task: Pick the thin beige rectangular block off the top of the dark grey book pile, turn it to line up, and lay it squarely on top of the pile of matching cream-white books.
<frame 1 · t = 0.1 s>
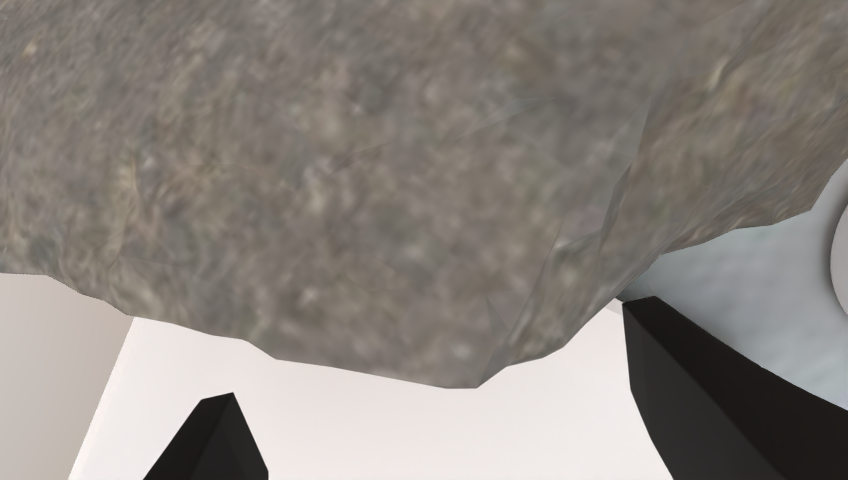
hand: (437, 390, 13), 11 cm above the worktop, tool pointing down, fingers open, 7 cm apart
plate: (381, 456, 26), on the worktop
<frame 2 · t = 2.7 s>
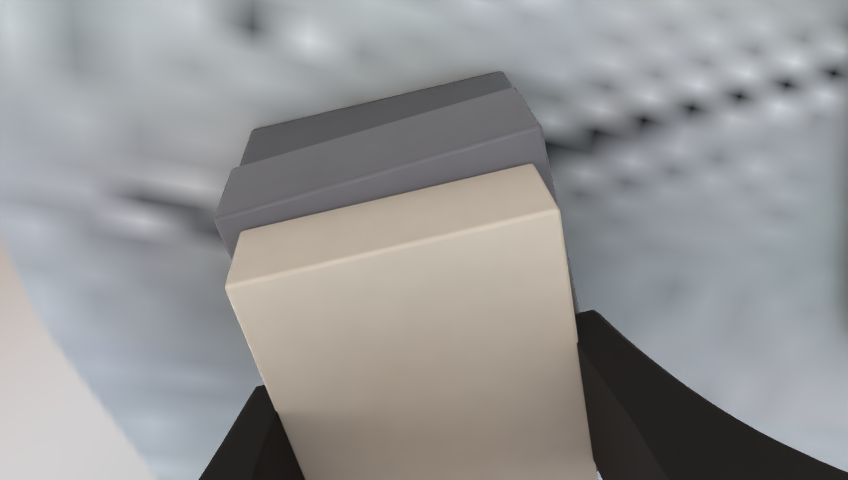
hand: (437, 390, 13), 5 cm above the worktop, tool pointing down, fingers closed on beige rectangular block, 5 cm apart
beige rectangular block: (432, 369, 14), point 4 cm above the worktop, touching grey books, gripper
grey books: (416, 255, 18), on the worktop
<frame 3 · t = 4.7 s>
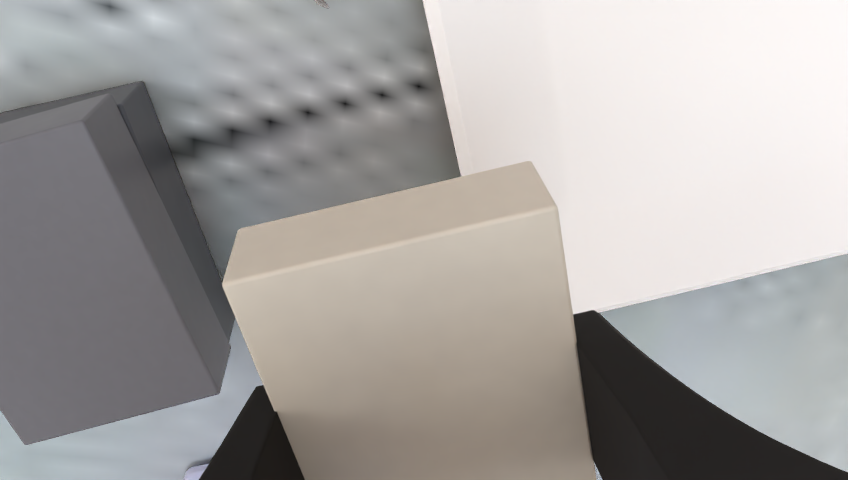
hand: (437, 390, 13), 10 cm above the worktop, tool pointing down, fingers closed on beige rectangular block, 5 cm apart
beige rectangular block: (430, 368, 14), point 9 cm above the worktop, touching gripper
grey books: (102, 229, 22), on the worktop
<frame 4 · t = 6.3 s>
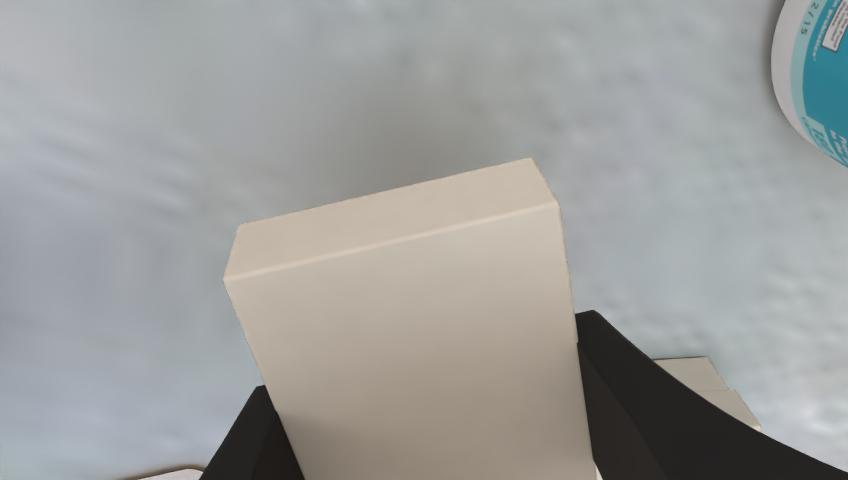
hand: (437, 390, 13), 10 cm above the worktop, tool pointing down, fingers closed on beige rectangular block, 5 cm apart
beige rectangular block: (430, 365, 14), point 9 cm above the worktop, touching gripper
white books: (597, 416, 27), on the worktop
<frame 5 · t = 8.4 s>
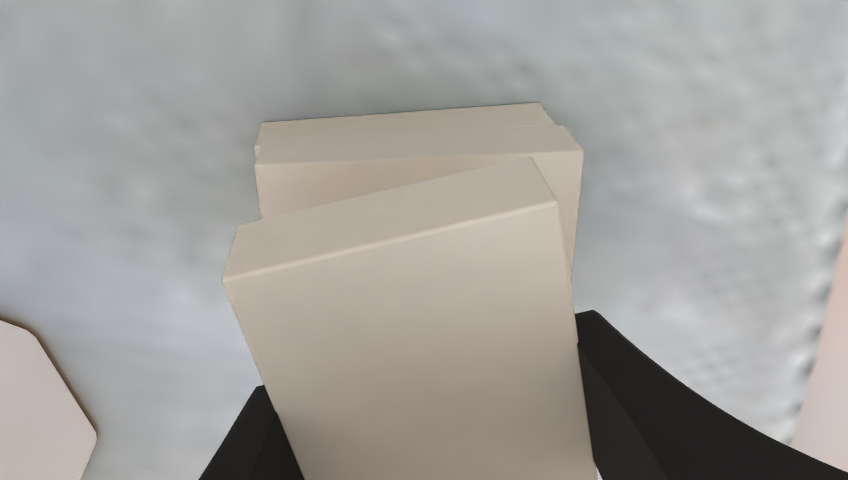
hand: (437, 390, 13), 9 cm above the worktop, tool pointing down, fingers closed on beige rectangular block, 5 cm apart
beige rectangular block: (430, 365, 14), point 8 cm above the worktop, touching gripper
white books: (407, 196, 21), on the worktop
when the fingers open (4 cm above the worktop, at t = 10.1 s): beige rectangular block stays where it is, resting on white books.
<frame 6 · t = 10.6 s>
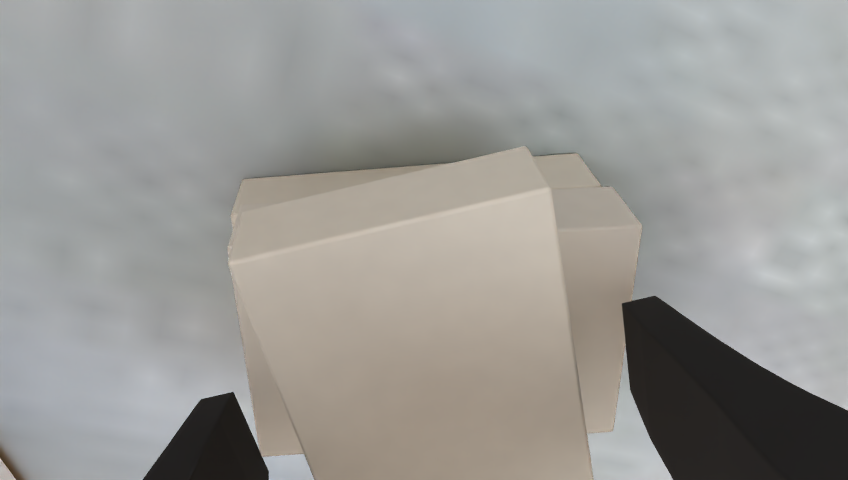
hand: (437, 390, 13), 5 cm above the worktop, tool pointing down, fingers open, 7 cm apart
beige rectangular block: (428, 349, 14), point 4 cm above the worktop, touching white books
white books: (417, 262, 18), on the worktop
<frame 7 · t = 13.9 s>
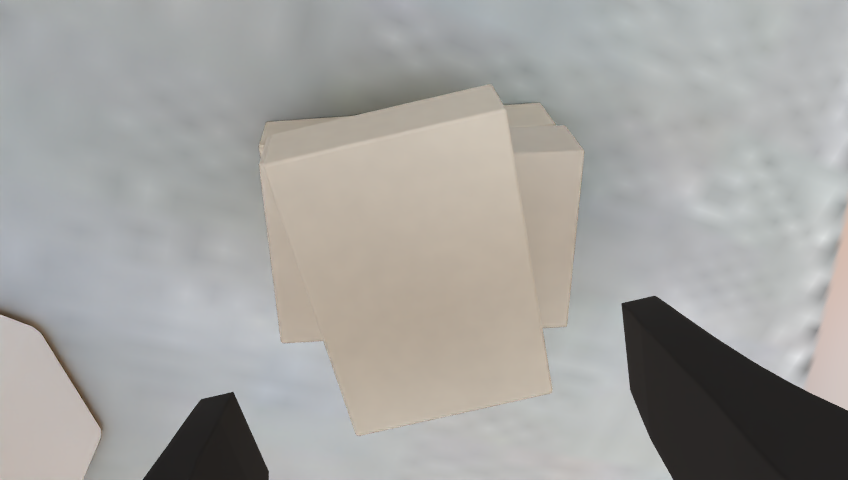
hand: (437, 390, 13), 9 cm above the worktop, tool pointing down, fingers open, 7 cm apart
beige rectangular block: (416, 252, 18), point 4 cm above the worktop, touching white books
white books: (409, 194, 21), on the worktop
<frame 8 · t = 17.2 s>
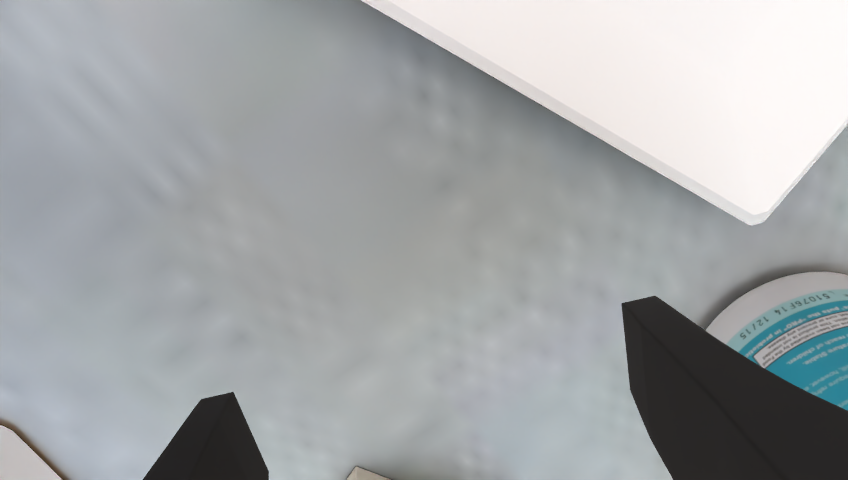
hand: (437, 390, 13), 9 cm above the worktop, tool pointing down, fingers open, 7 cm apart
pill bottle: (779, 349, 26), on the worktop
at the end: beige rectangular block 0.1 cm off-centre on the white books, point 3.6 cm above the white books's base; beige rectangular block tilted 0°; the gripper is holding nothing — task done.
